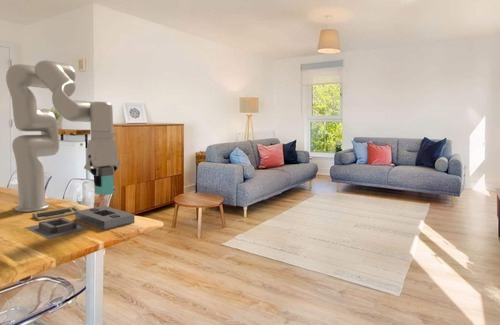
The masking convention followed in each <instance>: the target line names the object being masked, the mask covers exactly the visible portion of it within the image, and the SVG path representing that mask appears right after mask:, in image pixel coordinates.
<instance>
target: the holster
mask: <svg viewBox="0 0 500 325" xmlns="http://www.w3.org/2000/svg"><path fill="white" fill-rule="evenodd" d="M24 229H26V230H28V231H29V232H32V233H34V234H37V235H38V236H41V237H43V238H45V239H47V240H51V239H55V238H59V237H64V236H68V235H72V234H74V233H75V234H77V233H79V232H83V231H87V230H91V229H92V228H91V227H88V226H85V225H83V224H81V223H77V222H76V221H74V220H71V219H67V218H65V217H58V218H53V219H47V220H42V221H38V224H36V225H30V226H26V227H24Z"/></svg>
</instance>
